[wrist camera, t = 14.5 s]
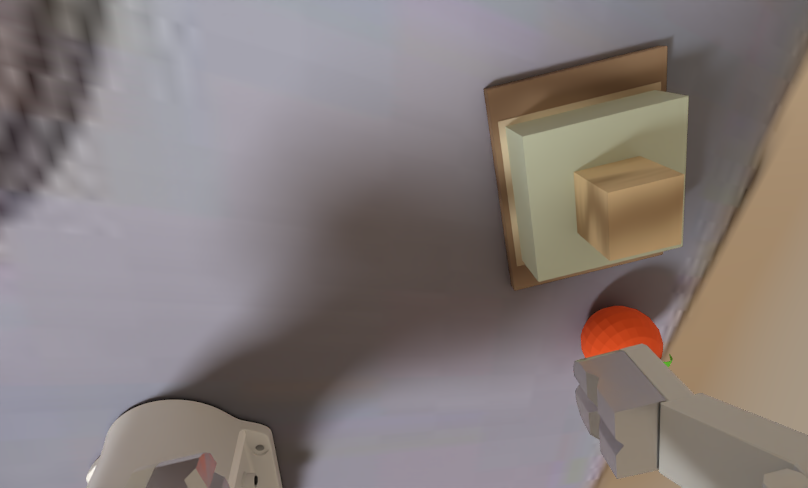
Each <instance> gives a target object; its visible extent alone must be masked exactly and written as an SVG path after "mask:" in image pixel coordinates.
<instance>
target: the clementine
mask: <svg viewBox="0 0 808 488" xmlns="http://www.w3.org/2000/svg"><path fill="white" fill-rule="evenodd" d="M641 343H642V344H645V345H647V346H648V347H649V348H650V349H651V350H652V351H653V352H654V353H655V354H656V355H657V356H658V357H659V358H660V359H661V357H662V352H663V342H662V338H661V335H660V332H659V329H658V328H657V327H656V325H655V324H654V323H653V321H652V320H651V319H650V318H649V317H648V316H646V315H645V314H643V313H642V312H640V311H638V310H637V309H633V308H629V307H625V306H611V307H607V308H603V309H601V310H599V311H597V312H595V313H594V314H593V315H592V316H591V317H590V318H589V319H588V320H587V322H586V324H585V325H584V327H583V329H582V334H581V347H582V351H583V354H584V356H585V358H588V357H592V356H596V355H600V354H604V353H608V352H612V351H615V350H619V349H622V348H626V347H630V346H634V345H638V344H641ZM670 360H671V361H669V362H663V363H664V364H665V365H666V366H667V367H669V366H670V364H671V362H672V357H671V355H670Z"/></svg>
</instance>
